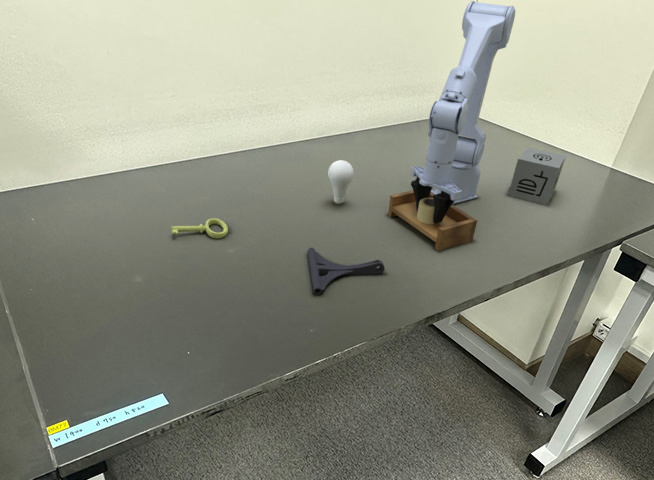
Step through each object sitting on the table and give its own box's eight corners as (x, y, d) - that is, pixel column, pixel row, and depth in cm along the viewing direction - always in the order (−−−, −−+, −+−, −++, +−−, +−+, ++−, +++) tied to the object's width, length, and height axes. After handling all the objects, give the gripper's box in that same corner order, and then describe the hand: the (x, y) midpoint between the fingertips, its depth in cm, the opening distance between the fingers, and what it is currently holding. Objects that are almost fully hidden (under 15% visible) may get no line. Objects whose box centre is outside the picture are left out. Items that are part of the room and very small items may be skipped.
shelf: (420, 206, 132) (424, 187, 129) (472, 240, 120) (477, 220, 117) (387, 215, 128) (390, 195, 125) (437, 251, 115) (442, 230, 112)
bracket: (390, 293, 102) (392, 281, 100) (313, 295, 100) (313, 282, 99) (376, 254, 113) (378, 242, 112) (307, 254, 112) (307, 243, 110)
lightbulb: (348, 210, 129) (352, 167, 122) (324, 207, 130) (326, 164, 123) (352, 199, 133) (356, 157, 127) (328, 196, 134) (331, 154, 128)
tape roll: (430, 211, 124) (433, 195, 122) (445, 221, 121) (448, 205, 118) (411, 216, 122) (414, 199, 119) (427, 226, 118) (430, 209, 116)
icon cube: (546, 205, 136) (559, 168, 130) (507, 195, 140) (518, 158, 134) (554, 191, 143) (566, 155, 137) (516, 182, 147) (526, 147, 141)
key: (168, 234, 116) (167, 226, 114) (219, 221, 122) (219, 212, 120) (182, 249, 111) (181, 241, 110) (235, 234, 117) (234, 226, 116)
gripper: (403, 150, 116) (395, 206, 124) (448, 175, 106) (436, 234, 114) (428, 145, 119) (419, 200, 127) (474, 169, 109) (460, 227, 117)
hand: (428, 216), depth 121 cm, fingers closed on tape roll, 5 cm apart
